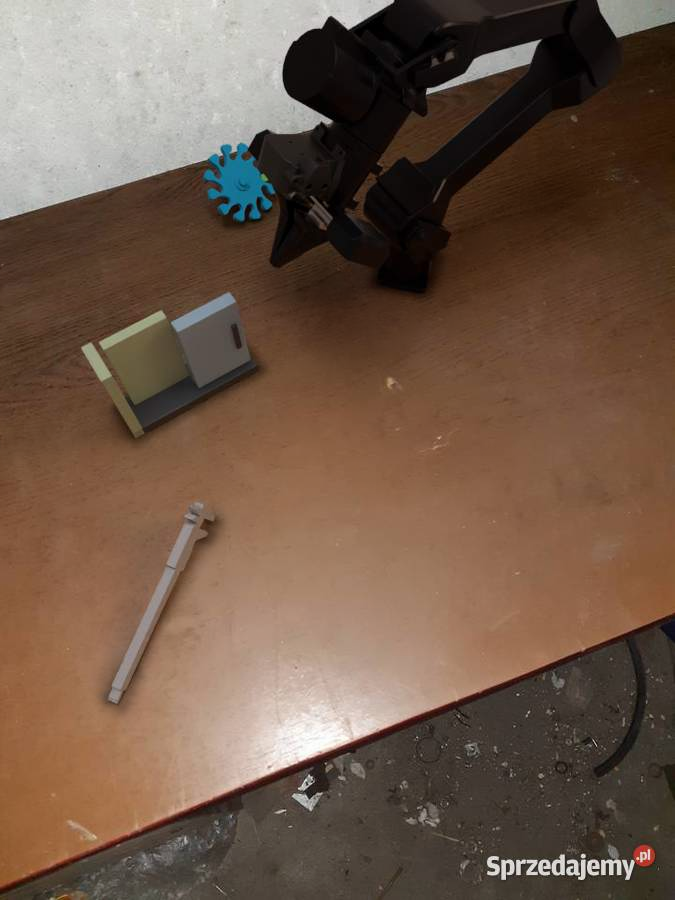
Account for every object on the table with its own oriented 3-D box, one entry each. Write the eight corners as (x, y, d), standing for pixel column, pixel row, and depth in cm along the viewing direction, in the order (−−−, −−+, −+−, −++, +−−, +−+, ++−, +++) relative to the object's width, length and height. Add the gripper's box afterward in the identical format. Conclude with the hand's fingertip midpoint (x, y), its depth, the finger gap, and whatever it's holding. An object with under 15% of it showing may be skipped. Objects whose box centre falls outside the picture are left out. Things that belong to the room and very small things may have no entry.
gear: (227, 231, 91) (193, 155, 87) (212, 238, 96) (180, 166, 92) (295, 202, 95) (266, 128, 92) (277, 210, 100) (249, 140, 97)
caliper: (207, 515, 74) (194, 492, 69) (216, 518, 74) (204, 495, 69) (109, 700, 66) (86, 691, 60) (119, 705, 66) (96, 696, 60)
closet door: (244, 351, 82) (229, 291, 73) (252, 362, 82) (238, 303, 72) (192, 379, 81) (170, 322, 71) (200, 390, 80) (178, 334, 70)
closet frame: (238, 342, 85) (220, 274, 74) (259, 370, 83) (244, 304, 72) (117, 407, 81) (79, 346, 70) (135, 438, 79) (100, 380, 68)
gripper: (251, 50, 64) (173, 194, 71) (365, 166, 56) (266, 313, 64) (326, 95, 73) (250, 219, 80) (433, 201, 65) (339, 326, 73)
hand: (273, 265), depth 74 cm, fingers closed
